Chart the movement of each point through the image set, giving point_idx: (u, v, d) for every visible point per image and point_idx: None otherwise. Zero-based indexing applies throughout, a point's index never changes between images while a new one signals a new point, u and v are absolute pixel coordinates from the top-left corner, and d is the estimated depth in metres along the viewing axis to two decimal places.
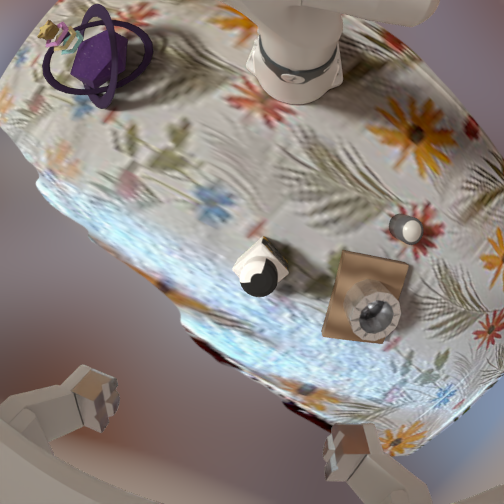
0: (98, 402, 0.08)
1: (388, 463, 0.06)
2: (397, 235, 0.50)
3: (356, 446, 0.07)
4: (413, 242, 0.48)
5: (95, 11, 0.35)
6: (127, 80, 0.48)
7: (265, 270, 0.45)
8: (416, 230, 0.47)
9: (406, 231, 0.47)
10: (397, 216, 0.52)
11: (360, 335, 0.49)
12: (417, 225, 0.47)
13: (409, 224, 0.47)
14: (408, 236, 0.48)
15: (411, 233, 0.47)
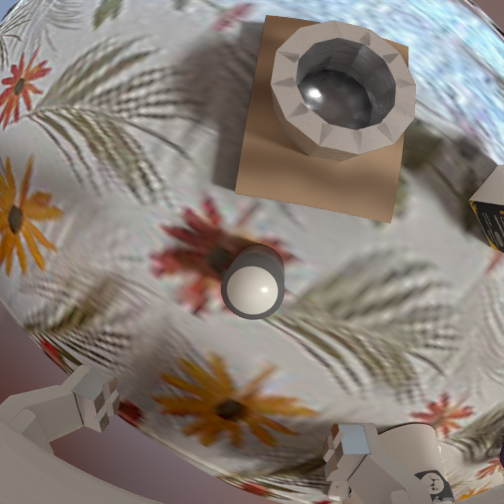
0: (98, 402, 0.08)
1: (388, 463, 0.06)
2: (280, 269, 0.24)
3: (356, 446, 0.07)
4: (245, 265, 0.23)
5: None
6: None
7: None
8: (240, 293, 0.23)
9: (268, 289, 0.23)
10: None
11: (378, 40, 0.14)
12: (240, 303, 0.23)
13: (261, 305, 0.23)
14: (261, 279, 0.23)
15: (253, 286, 0.23)
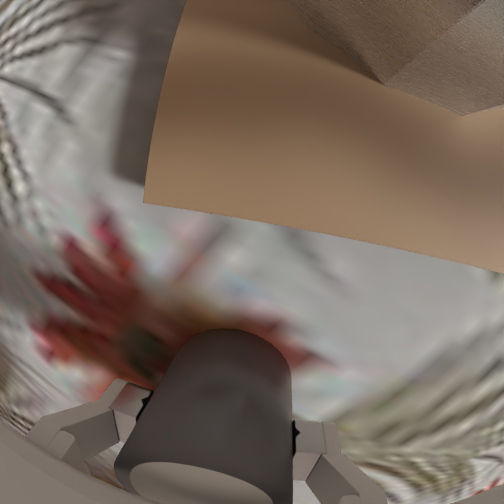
0: None
1: (344, 465, 0.06)
2: (284, 434, 0.07)
3: (311, 445, 0.07)
4: (165, 459, 0.05)
5: None
6: None
7: None
8: (168, 497, 0.06)
9: None
10: None
11: None
12: None
13: None
14: (221, 490, 0.05)
15: (201, 496, 0.05)
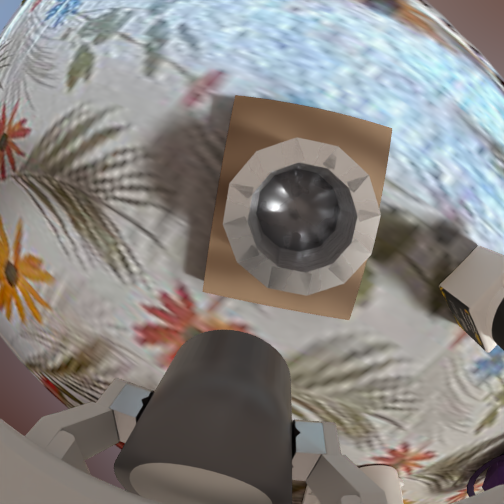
0: None
1: (343, 465, 0.06)
2: (283, 435, 0.07)
3: (311, 445, 0.07)
4: (165, 460, 0.05)
5: None
6: (500, 458, 0.29)
7: None
8: (168, 498, 0.06)
9: None
10: None
11: (346, 161, 0.17)
12: None
13: None
14: (221, 491, 0.05)
15: (200, 496, 0.05)
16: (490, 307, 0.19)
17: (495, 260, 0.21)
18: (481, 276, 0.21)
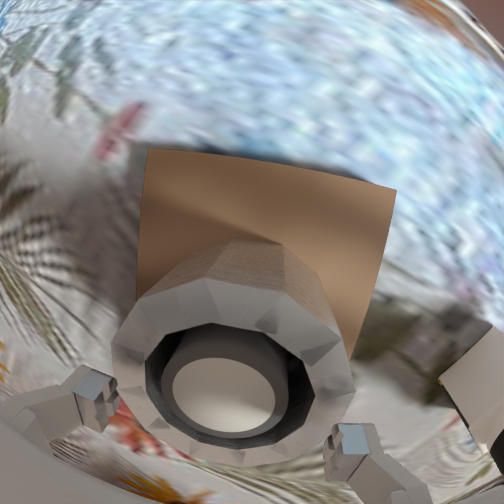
0: (98, 402, 0.08)
1: (388, 464, 0.06)
2: (281, 349, 0.12)
3: (356, 446, 0.07)
4: (204, 355, 0.10)
5: None
6: None
7: None
8: (199, 400, 0.10)
9: (255, 398, 0.10)
10: None
11: (300, 319, 0.09)
12: (201, 416, 0.10)
13: (241, 421, 0.10)
14: (240, 382, 0.10)
15: (224, 392, 0.10)
16: (495, 423, 0.12)
17: None
18: (492, 380, 0.14)
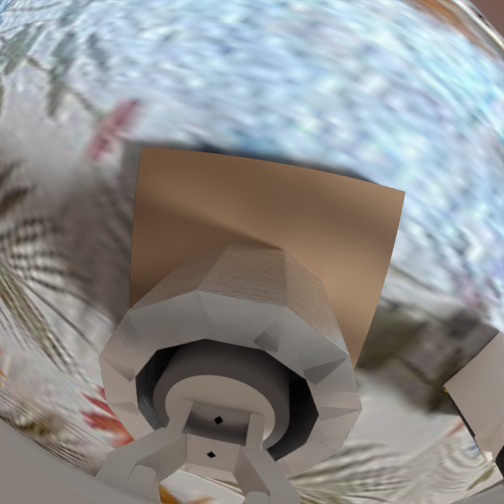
0: None
1: (260, 460, 0.07)
2: (281, 363, 0.11)
3: (231, 434, 0.07)
4: (198, 372, 0.09)
5: None
6: None
7: None
8: None
9: None
10: None
11: (303, 336, 0.08)
12: None
13: None
14: (237, 400, 0.09)
15: None
16: (501, 431, 0.11)
17: None
18: (499, 388, 0.13)
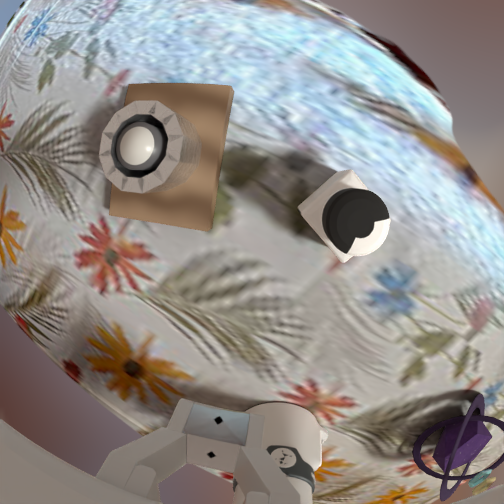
0: None
1: (260, 460, 0.07)
2: (163, 134, 0.28)
3: (231, 434, 0.07)
4: (132, 127, 0.26)
5: (449, 493, 0.32)
6: (446, 422, 0.39)
7: (348, 243, 0.24)
8: (128, 148, 0.27)
9: (147, 142, 0.26)
10: None
11: (161, 108, 0.25)
12: (128, 157, 0.27)
13: (142, 156, 0.27)
14: (142, 135, 0.26)
15: (137, 141, 0.26)
16: None
17: (338, 175, 0.30)
18: (322, 189, 0.30)
